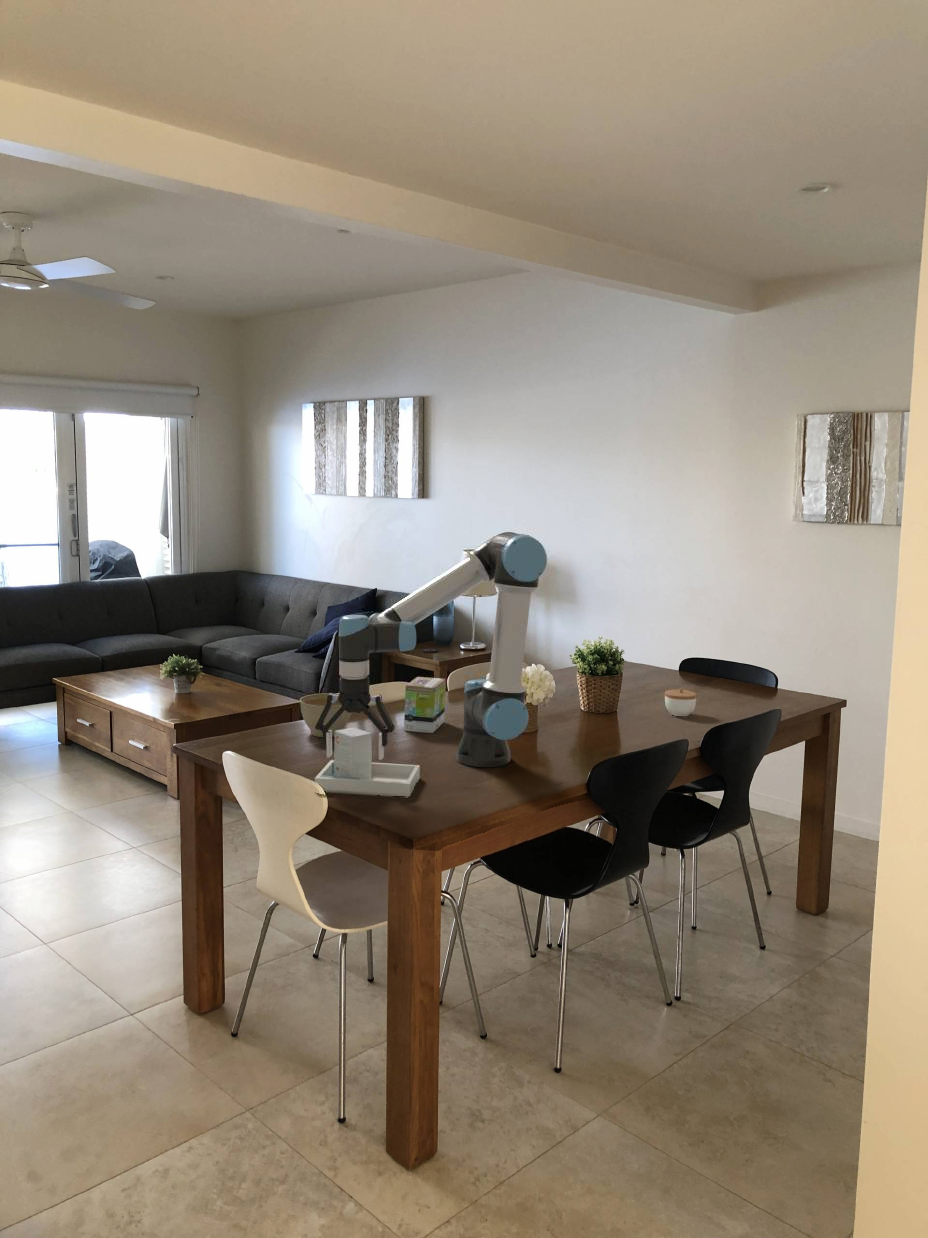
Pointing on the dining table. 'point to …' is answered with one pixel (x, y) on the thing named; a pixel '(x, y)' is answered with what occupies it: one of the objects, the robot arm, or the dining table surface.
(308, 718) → the planter bowl
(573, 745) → the dining table surface
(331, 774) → the tray
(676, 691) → the lidded jar
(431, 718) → the tea box
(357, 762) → the small box
